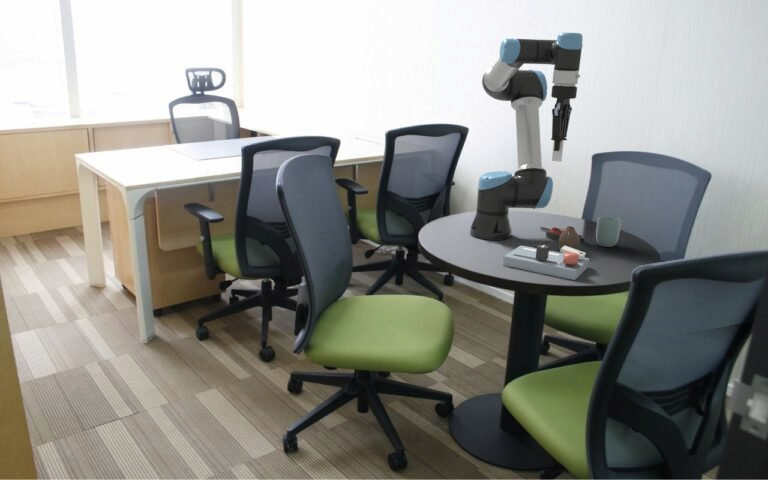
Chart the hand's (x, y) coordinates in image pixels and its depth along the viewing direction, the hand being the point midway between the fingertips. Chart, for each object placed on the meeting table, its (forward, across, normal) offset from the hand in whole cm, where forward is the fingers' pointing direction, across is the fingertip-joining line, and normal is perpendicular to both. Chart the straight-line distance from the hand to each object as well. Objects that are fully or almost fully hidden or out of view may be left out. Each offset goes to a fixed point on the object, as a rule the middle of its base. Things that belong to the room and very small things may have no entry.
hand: (556, 160), depth 203 cm
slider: (+29, -13, -3) cm, 32 cm away
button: (+28, -13, -11) cm, 33 cm away
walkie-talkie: (+33, +27, +5) cm, 43 cm away
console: (+32, -10, -3) cm, 34 cm away
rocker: (+27, -6, -10) cm, 30 cm away
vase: (+33, +11, -4) cm, 35 cm away
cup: (+33, +27, -13) cm, 44 cm away
